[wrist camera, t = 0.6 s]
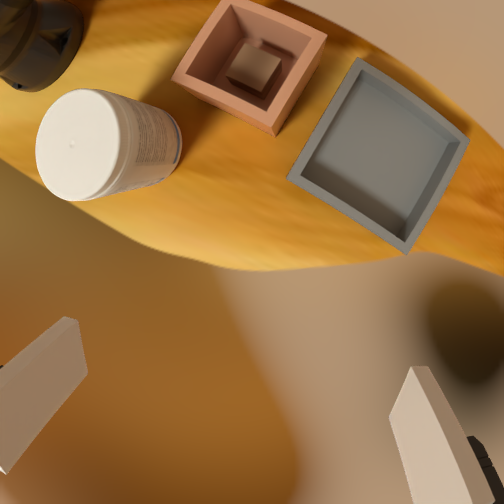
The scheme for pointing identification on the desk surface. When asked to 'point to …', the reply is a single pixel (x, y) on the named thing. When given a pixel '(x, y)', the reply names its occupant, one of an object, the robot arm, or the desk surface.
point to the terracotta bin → (264, 38)
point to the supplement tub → (104, 145)
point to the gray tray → (380, 156)
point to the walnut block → (254, 71)
